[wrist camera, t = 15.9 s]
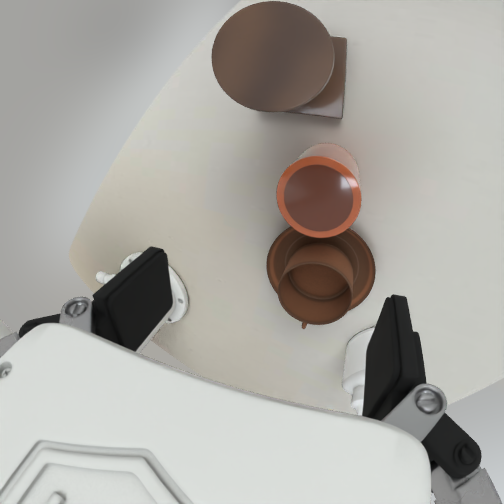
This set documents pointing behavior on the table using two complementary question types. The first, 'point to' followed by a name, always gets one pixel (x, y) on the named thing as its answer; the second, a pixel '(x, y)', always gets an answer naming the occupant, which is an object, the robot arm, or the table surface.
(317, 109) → the cat scratching post
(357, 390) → the eye dropper bottle
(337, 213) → the terracotta cup
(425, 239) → the table surface
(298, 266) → the cup and saucer
